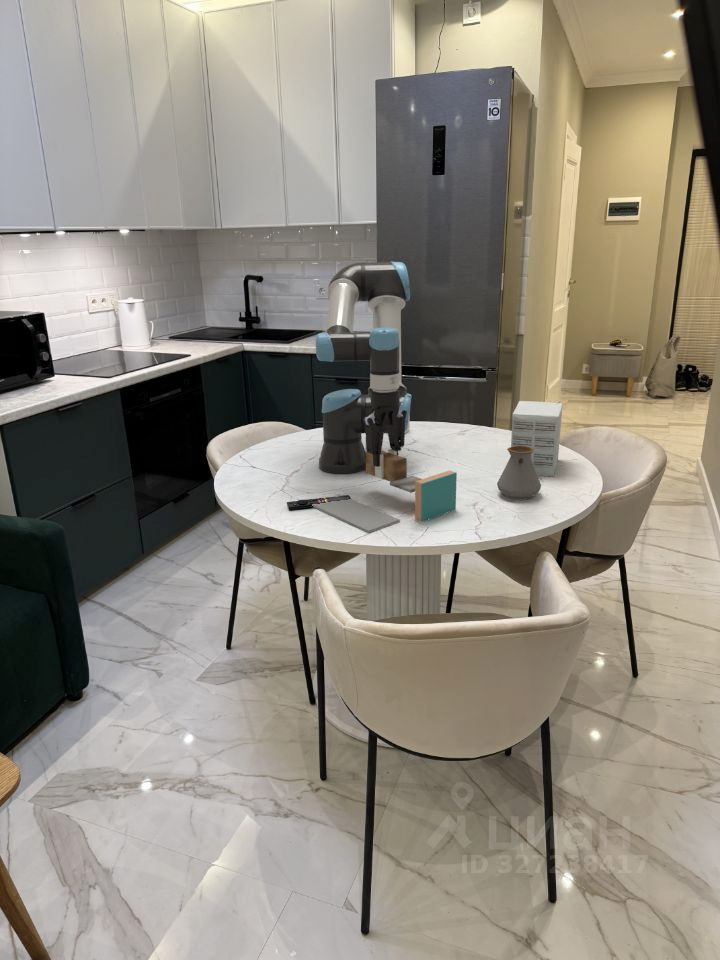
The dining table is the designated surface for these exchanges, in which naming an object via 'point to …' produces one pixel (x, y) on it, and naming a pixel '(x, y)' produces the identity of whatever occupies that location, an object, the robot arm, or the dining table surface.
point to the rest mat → (357, 514)
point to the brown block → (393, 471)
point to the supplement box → (538, 433)
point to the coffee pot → (519, 475)
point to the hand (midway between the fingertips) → (386, 475)
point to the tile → (435, 495)
